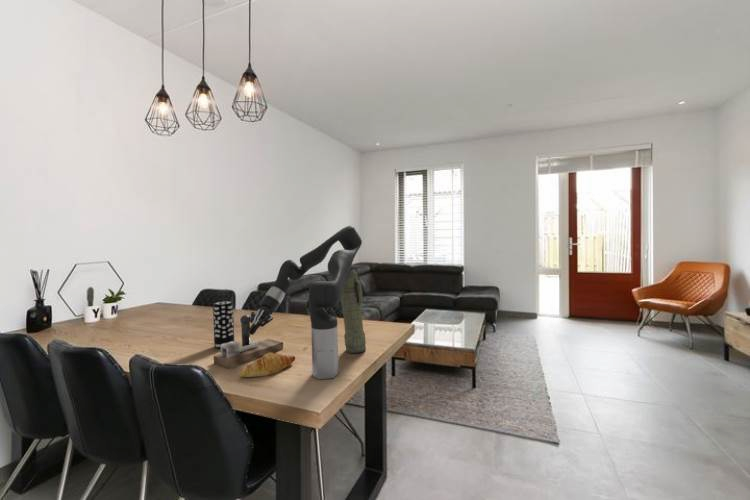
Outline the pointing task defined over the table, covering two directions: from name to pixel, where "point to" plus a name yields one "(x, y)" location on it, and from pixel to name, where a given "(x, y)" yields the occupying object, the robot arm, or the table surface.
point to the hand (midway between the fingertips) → (250, 333)
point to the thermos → (353, 313)
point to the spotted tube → (223, 323)
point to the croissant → (267, 365)
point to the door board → (244, 352)
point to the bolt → (246, 334)
